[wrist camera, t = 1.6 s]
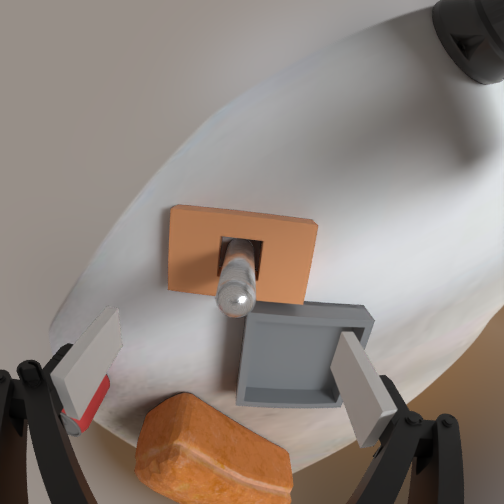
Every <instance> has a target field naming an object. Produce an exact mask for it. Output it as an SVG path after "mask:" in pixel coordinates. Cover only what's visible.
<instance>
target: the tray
mask: <svg viewBox="0 0 504 504" xmlns="http://www.w3.org/2000/svg"><path fill="white" fill-rule="evenodd" d="M374 321H375V320H374V319H373V317H372V316H371V315H370V313H369V312H368V311H367V309H366V308H365V307H364V305H350V304H335V303H321V302H308V301H304V302H303V305H301V304H289V303H278V302H267V301H257V300H256V303H255V306H254V308H253V310H252V311H251V312H250V313H249V314H248V315H246V317H245V325H244V332H243V340H242V348H241V356H240V364H239V372H238V379H237V389H236V405H238V406H251V407H268V408H337V407H341V405H342V403H343V400H342V397H341V394H340V392H339V389H338V387H337V384H336V381H335V379H334V376H333V373H332V371H331V368H330V366H331V363H332V360H333V357H334V354H335V351H336V348H337V345H338V342H339V339H340V335H341V332H354V334H355V336H356V337H357V339H358V341H359V342H360V344H361V346H362V347H363V349H364V350H365V347H366V344H367V342H368V339H369V336H370V333H371V330H372V327H373V324H374Z"/></svg>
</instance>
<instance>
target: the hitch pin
mask: <svg viewBox="0 0 504 504" xmlns="http://www.w3.org/2000/svg"><path fill="white" fill-rule="evenodd" d="M255 303H256V282H255V264H254V248H253V245H252V243H251V242H250V241H249V240H247V239H242V238H236V239H234V240H232V241H231V242H230V243H229V245H228V248H227V251H226V255H225V259H224V263H223V267H222V271H221V275H220V279H219V283H218V287H217V291H216V304H217V306H218V308H219V310H220V311H221V312H222V313H223V314H225V315H226V316H228V317H231V318H241V317H244V316H246V315H248V314H249V313H250V312H251V311H252V310H253V308H254V306H255Z"/></svg>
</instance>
